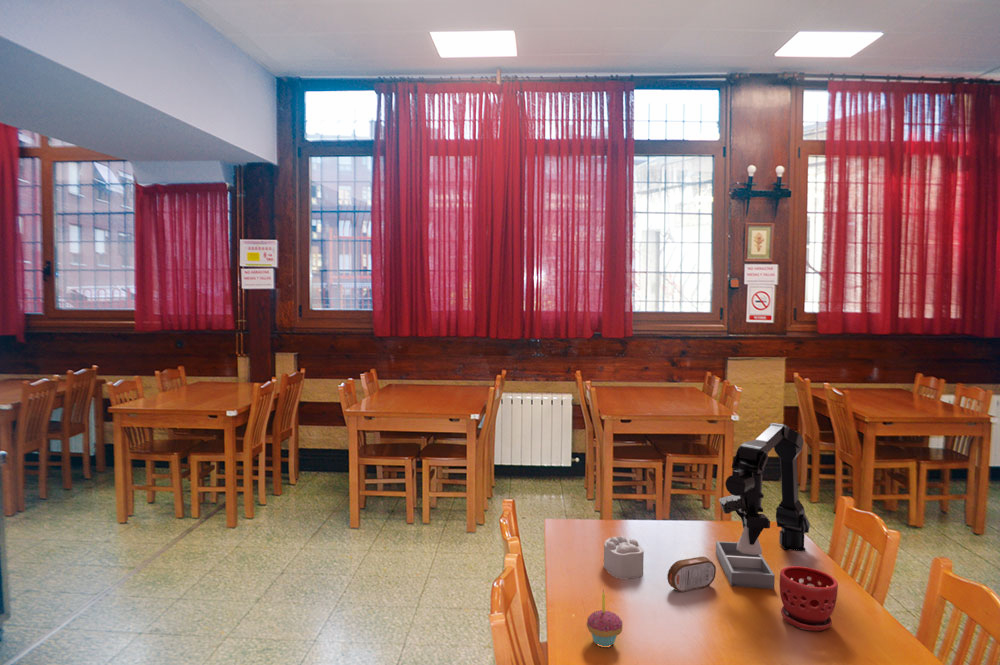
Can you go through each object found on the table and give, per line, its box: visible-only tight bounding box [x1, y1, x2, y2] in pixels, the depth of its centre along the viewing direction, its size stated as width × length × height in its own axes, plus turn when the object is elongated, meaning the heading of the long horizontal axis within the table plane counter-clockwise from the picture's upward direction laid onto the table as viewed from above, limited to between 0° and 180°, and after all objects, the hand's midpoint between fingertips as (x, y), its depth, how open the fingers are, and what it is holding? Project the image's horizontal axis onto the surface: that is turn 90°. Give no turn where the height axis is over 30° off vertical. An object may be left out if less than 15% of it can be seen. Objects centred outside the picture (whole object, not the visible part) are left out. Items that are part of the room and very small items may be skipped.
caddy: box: [715, 540, 776, 590], centre depth 187 cm, size 12×22×4 cm, turn 172°
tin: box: [666, 556, 717, 593], centre depth 176 cm, size 15×3×8 cm, turn 111°
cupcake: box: [586, 589, 623, 646], centre depth 149 cm, size 9×8×12 cm
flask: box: [736, 526, 763, 555], centre depth 181 cm, size 7×7×10 cm
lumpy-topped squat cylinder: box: [603, 535, 645, 580], centre depth 188 cm, size 10×13×9 cm
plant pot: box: [779, 565, 839, 632], centre depth 158 cm, size 13×13×12 cm
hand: (749, 540), depth 181 cm, fingers closed on flask, 5 cm apart
